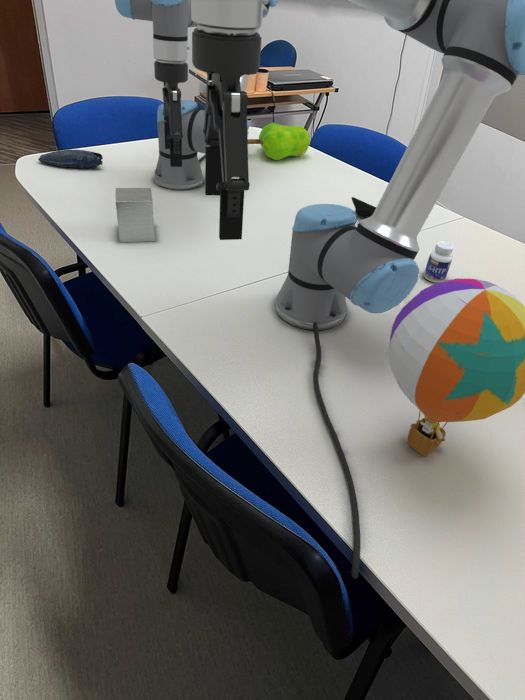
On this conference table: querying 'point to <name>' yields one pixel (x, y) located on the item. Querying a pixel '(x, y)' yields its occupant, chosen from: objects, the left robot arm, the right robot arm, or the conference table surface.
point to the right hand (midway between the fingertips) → (222, 215)
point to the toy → (458, 355)
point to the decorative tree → (282, 141)
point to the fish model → (72, 158)
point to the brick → (135, 214)
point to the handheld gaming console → (363, 208)
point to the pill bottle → (439, 262)
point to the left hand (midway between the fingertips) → (173, 157)
